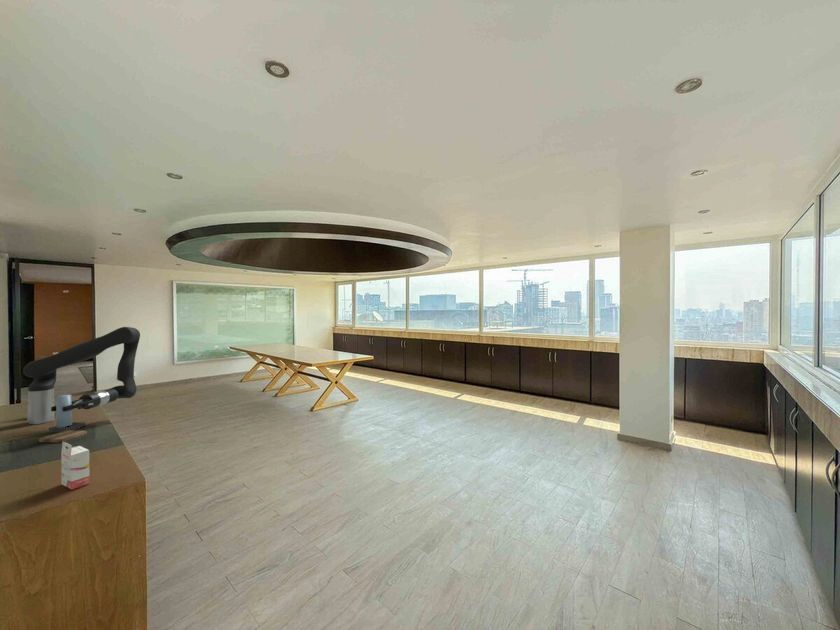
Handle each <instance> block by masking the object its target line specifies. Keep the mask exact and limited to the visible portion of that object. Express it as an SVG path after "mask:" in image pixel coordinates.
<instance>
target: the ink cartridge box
mask: <svg viewBox="0 0 840 630" xmlns="http://www.w3.org/2000/svg"><path fill="white" fill-rule="evenodd" d="M66 447H67V448H66ZM60 453H61V456H60V457H61V458H60V460H61V465H60V466H61V468H60V469H61V485H62V486H64V487H66V488H67V489H69V490H71V491H72V490H74V489H77V488H81V487H84V486H87V485H90V481H91V480H90V450H89V449H88V448H85V447H84V446H81V445H77V446H72V444H69V443H67V442H66V441H65V442H62V444H61V452H60Z"/></svg>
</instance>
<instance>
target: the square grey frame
mask: <svg viewBox="0 0 840 630" xmlns="http://www.w3.org/2000/svg"><path fill="white" fill-rule="evenodd" d="M82 426H86V422H85V421H84V422H83V421H81V422H80V421H79V422H77V421H76V422H74V421H72V425H70V427H67V426H66V428H64V427H57V425H54V426H51V427H48V433H59V432H62V431H65V430H73V429H75V430H77V429H76V428H78V429H80V428H79V427H82ZM82 428H83V427H82Z"/></svg>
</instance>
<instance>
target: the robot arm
mask: <svg viewBox="0 0 840 630" xmlns="http://www.w3.org/2000/svg"><path fill="white" fill-rule="evenodd" d="M140 338H141V333H140V331H139V330H138V329H137V328H135V327H130V326H122V327H119V328H116V329H114V330H112V331H110V332H109V333H107V334H104V335H101V336H98V337H95V338H92V339H89V340H87V341H83V342H82V343H78V344H76V345H73V346H71V347H69V348H67V349H64V350H61V351H59V352H58V353H55V354H53V355H50V356H46V357H44V358H40V359H37V360H33V361H30V362H28V363H27V364H26V365H25V366H24V367H23V369H22V372H23V375H24V376H26V377H28V378H31V379H33V381H32V382H31V383H30V384H29V385H28V387H27V388H28V389H27V392H28V398H27V399H28V403H27V405H26V423H27V424H29V425H39V424H40V425H41V424H46V423H50V422H54V421H55V412H56V405H55V384H56V383H57V382H56V381H57V371H58V370H57V369H61V368H63V367H67V366H71V365H75V364H78V363H82V362H85V361H87V360H90V359H92V358H95V357H97V356H98V355H100V354H101V353H103V352H105V351H106V350H108V349H109V348H112V347H115V346H119V345H121V344H123V352H122V355H121V358H120V360H119V362H118V364H117V373H116V374H117V375H116V380H117V382H118V381H119V382H122V384H123V385H117V386H112V387H111V388H108V389H104V390H97V391H93V392H89V393H86V394H83V395H80V397H79V398H76V399H73V400H71V403H72V405H69V406H65V407H63V408H62V411H63V412H65V411H69V410H72V411H73V410H82V409H83V410H89V409H93V408H96V407H97V408H98V407H102V406H103V405H106V404H109V403H112V402H115V401H116V400H117V399H131V398H134V396H135V395H136V394H137V385H136V381H135V378H134V374H135V362H136V361H135V360H136V355H137V351H138V348H139V347H138V346H139V342H140Z"/></svg>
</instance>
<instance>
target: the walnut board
mask: <svg viewBox="0 0 840 630" xmlns="http://www.w3.org/2000/svg"><path fill="white" fill-rule="evenodd" d="M84 434H85V435H87V434H88V431H87V430H77V429H75V430H65V431H62V432H54V433H52V434H49V435H46V436H44V437H40V438H38V442H39V443H59V442H62V443H63V442H64V441H65V442H68V441H70V439H71V440H73V438H74V439H77V438H79V437H82V436H85V435H84ZM81 435H82V436H81ZM67 440H68V441H67Z"/></svg>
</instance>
